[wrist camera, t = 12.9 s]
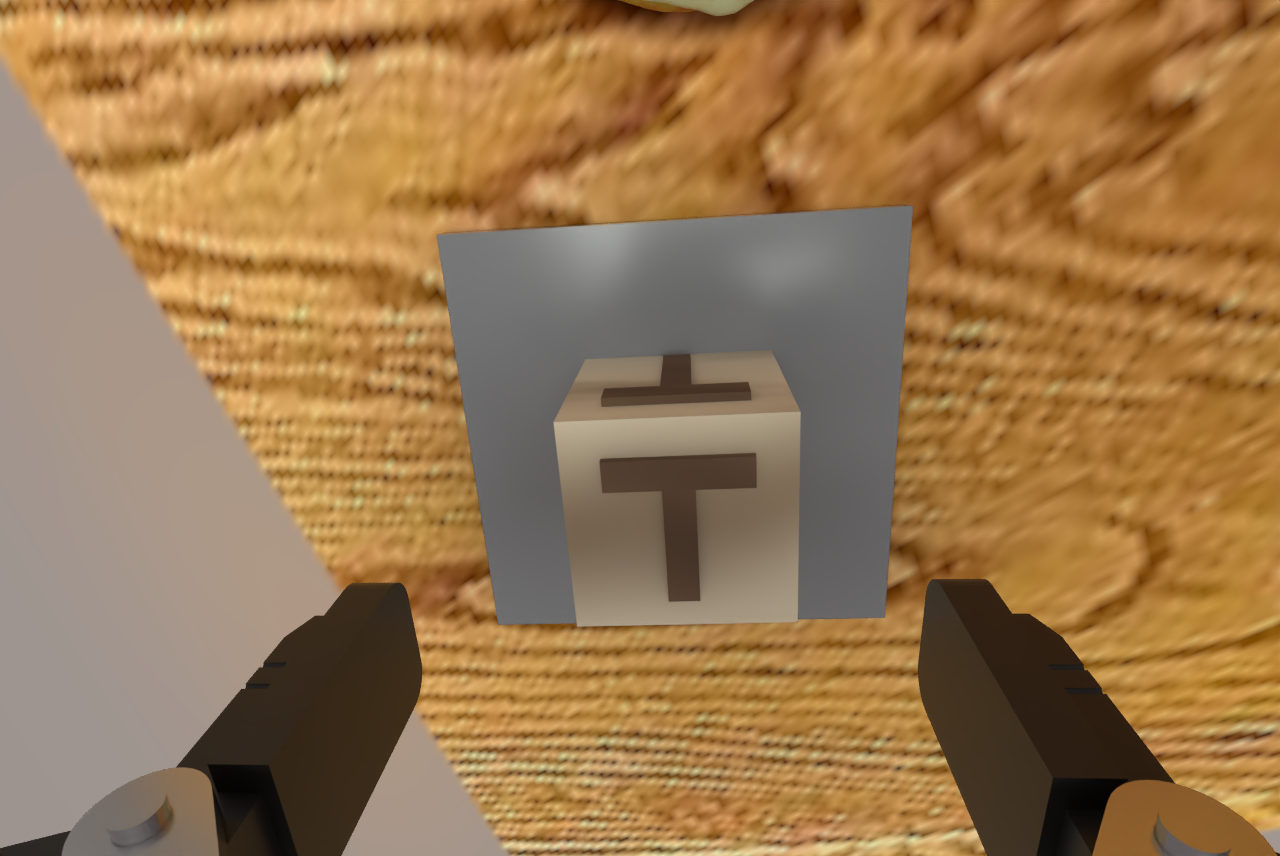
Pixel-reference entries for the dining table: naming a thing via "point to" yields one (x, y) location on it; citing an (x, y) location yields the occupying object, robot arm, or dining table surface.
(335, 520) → the dining table surface
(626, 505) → the letter block
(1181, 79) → the dining table surface
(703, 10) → the decorated donut
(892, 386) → the slate coaster
